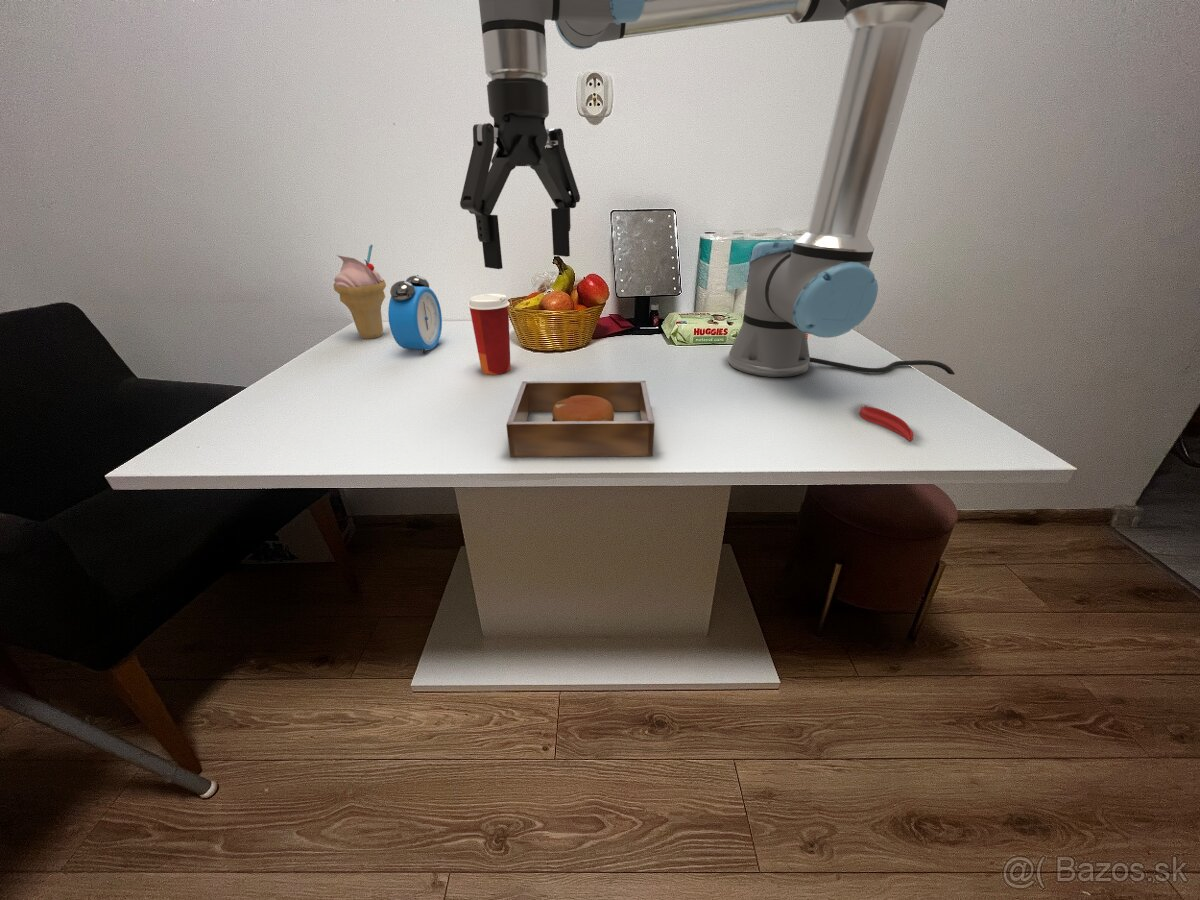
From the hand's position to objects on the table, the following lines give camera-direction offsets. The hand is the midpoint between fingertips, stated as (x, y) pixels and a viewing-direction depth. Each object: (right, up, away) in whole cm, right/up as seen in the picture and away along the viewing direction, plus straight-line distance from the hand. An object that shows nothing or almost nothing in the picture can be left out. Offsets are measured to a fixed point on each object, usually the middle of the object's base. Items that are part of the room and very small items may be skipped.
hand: (529, 261), depth 73 cm
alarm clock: (-29, -5, +40) cm, 49 cm away
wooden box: (+8, -24, +3) cm, 26 cm away
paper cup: (-10, -12, +27) cm, 31 cm away
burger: (+8, -24, +3) cm, 26 cm away
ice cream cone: (-44, 0, +48) cm, 66 cm away
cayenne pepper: (+54, -23, +5) cm, 59 cm away
